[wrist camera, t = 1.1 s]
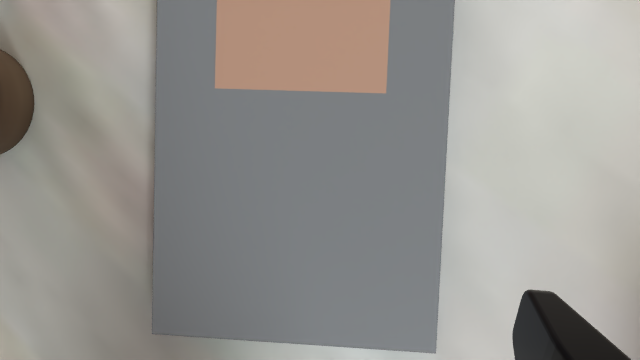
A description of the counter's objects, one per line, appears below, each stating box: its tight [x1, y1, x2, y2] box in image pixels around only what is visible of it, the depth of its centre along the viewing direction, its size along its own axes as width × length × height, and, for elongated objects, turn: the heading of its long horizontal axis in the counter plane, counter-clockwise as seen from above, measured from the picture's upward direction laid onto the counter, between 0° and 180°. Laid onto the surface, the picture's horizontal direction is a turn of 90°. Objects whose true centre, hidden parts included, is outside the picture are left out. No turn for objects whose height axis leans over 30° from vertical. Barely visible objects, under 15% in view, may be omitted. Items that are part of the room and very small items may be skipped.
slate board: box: [152, 0, 455, 353], centre depth 22 cm, size 18×12×1 cm, turn 178°
